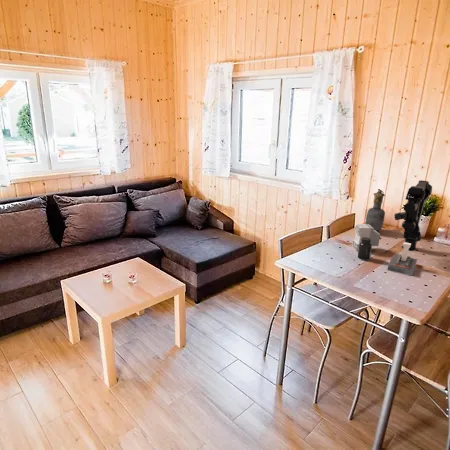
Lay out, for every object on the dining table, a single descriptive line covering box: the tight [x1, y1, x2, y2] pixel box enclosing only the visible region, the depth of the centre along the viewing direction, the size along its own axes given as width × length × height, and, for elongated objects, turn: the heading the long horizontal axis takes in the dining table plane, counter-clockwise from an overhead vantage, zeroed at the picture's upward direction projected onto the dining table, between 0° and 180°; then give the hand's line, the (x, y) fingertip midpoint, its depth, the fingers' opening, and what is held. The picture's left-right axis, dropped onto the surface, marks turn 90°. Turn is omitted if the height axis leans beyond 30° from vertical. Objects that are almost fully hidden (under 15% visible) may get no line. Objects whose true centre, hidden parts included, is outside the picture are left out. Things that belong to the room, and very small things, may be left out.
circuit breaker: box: [351, 223, 382, 252], centre depth 209 cm, size 8×14×15 cm, turn 89°
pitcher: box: [364, 188, 386, 233], centre depth 239 cm, size 11×19×30 cm, turn 150°
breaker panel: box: [387, 253, 418, 277], centre depth 188 cm, size 17×12×5 cm
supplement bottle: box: [357, 237, 373, 261], centre depth 197 cm, size 7×7×12 cm
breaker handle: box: [401, 241, 411, 261], centre depth 188 cm, size 3×4×10 cm
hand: (407, 235), depth 198 cm, fingers open, 9 cm apart
